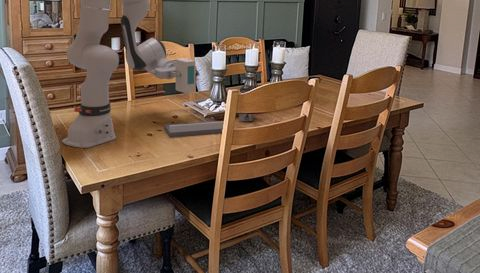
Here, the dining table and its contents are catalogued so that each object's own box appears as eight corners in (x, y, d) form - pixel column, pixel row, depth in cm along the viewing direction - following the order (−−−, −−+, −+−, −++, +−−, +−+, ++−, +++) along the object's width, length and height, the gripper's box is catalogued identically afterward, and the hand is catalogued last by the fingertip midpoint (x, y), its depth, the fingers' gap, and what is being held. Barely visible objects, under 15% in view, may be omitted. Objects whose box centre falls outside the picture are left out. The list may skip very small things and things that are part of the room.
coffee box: (242, 116, 246) (243, 84, 241) (255, 117, 245) (256, 85, 240) (238, 121, 238) (239, 88, 233) (251, 122, 237) (253, 89, 231)
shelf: (170, 137, 213) (169, 126, 211) (164, 128, 224) (164, 118, 222) (225, 132, 221) (225, 121, 220) (217, 124, 232) (217, 114, 230)
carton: (186, 93, 219) (186, 62, 214) (175, 90, 224) (175, 59, 220) (195, 92, 222) (195, 60, 217) (184, 88, 228) (184, 58, 223)
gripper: (148, 64, 222) (166, 70, 213) (185, 60, 235) (203, 65, 226) (148, 78, 224) (166, 84, 215) (185, 73, 238) (203, 78, 228)
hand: (185, 74), depth 220 cm, fingers closed on carton, 5 cm apart
